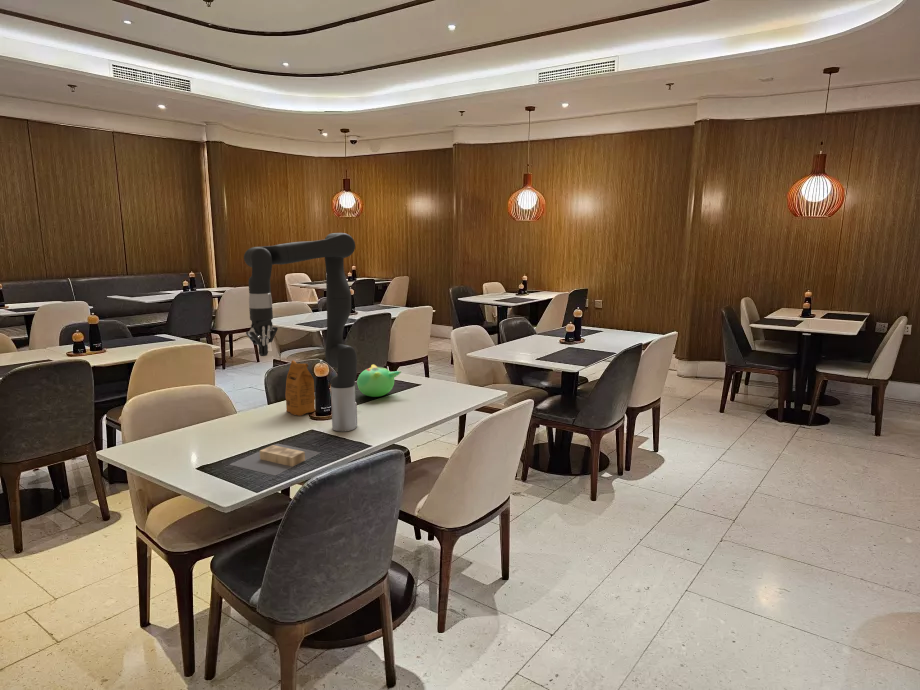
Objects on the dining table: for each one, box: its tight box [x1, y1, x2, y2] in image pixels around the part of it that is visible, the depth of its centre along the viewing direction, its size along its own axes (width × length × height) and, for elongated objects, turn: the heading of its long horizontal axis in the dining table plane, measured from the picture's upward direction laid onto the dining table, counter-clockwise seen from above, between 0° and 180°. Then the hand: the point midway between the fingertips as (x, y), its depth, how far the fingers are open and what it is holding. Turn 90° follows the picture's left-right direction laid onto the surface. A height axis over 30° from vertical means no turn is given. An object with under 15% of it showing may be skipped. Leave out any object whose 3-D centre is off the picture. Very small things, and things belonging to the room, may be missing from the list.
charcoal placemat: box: [228, 443, 322, 476], centre depth 193 cm, size 22×20×1 cm
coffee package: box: [285, 359, 316, 417], centre depth 245 cm, size 10×12×22 cm
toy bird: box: [356, 364, 402, 398], centre depth 271 cm, size 18×17×15 cm
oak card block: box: [259, 444, 305, 467], centre depth 192 cm, size 6×3×14 cm
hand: (263, 355), depth 200 cm, fingers closed
